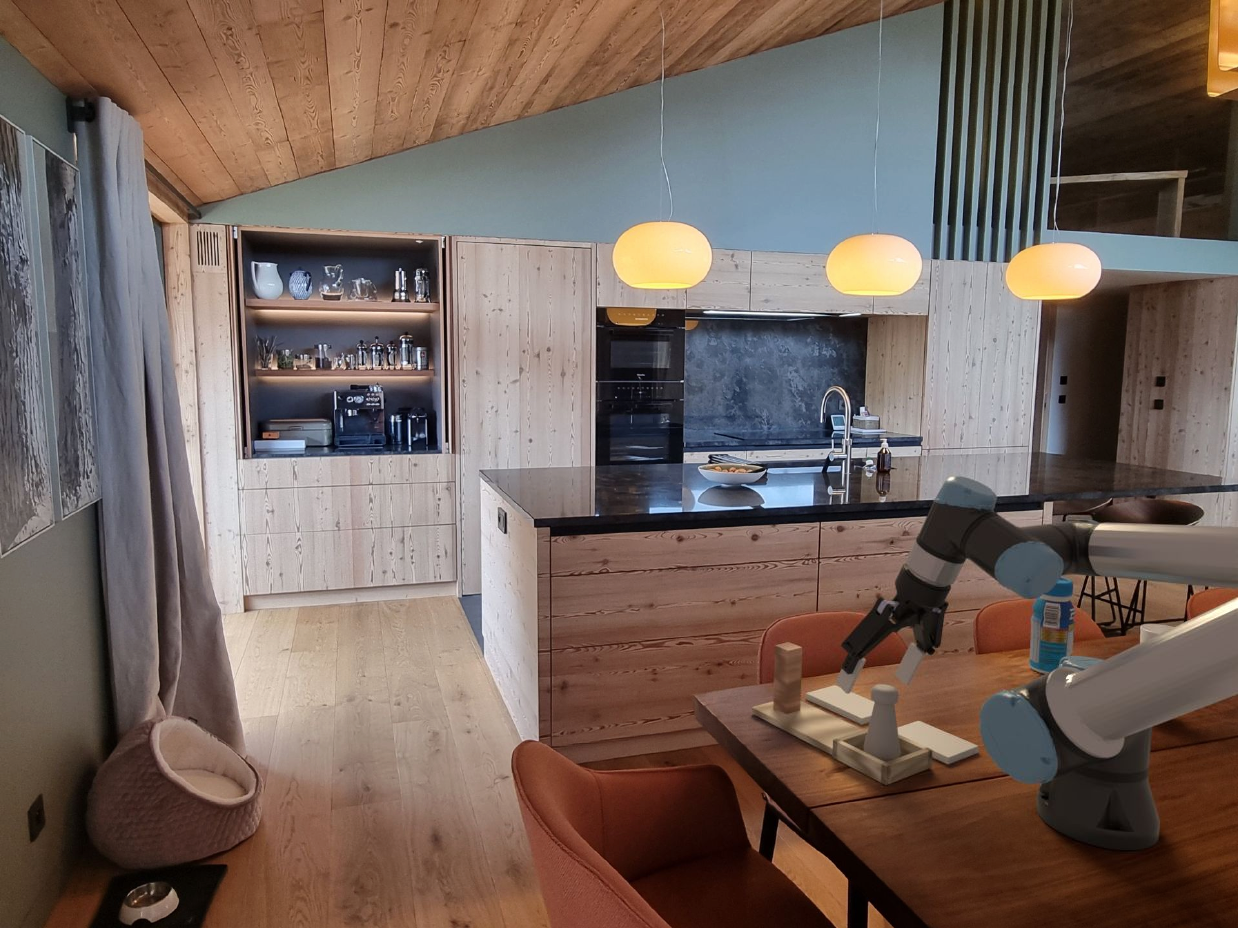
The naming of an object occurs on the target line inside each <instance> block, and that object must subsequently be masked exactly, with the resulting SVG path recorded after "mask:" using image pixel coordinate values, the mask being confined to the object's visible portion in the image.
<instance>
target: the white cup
mask: <svg viewBox="0 0 1238 928" xmlns="http://www.w3.org/2000/svg"><path fill="white" fill-rule="evenodd" d="M1174 627H1175V626H1169V625H1166V624H1160V623H1159V624H1156V623H1144V624H1141V625H1140V628H1139V632H1140V634H1139V635H1140V637H1139V644H1140V643H1142V642H1144V641H1146V640H1148V639H1151V638H1153V637H1155V636H1157V635H1159V634H1161V633H1163V632H1165V631H1167V630H1170V629H1172V628H1174Z"/></svg>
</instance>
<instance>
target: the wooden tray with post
mask: <svg viewBox="0 0 1238 928" xmlns="http://www.w3.org/2000/svg"><path fill="white" fill-rule="evenodd" d="M773 663H774V669H773V670H774V671H773V697H772V698H773V701H770V702H765V703H762V704H758V705H754V706H752V707H751V714H752V715H754V716H756V717H758V718H760V719H762V720H763V721H765V722H767V723H769V724H771V725H773V726H775V727H777V728H779V729H781V730H783V731H785V732H787V733H788V734H790V735H792V736H795V737H797V738H798V739H800V740H802V741H804V742H806V743H807V744H810V745H811V746H813V747H815V748H817V749H819V750H821V751H823V752H826V753H827V754H829V755H831V756H832V758H833V759H834V760H836V761H839V762H841V763H842V764H844V765H847V766H848V767H850V768H852V769H854V770H856V771H858V772H859V773H862V774H864V775H865V776H867V777H869V778H871V779H874V780H875V781H877V782H879V783H881V784H883V785H885V786H887V785H888V786H889V785H891V784H892V783H896V782H899V781H901V780H903V779H906V778H908V777H910V776H913V775H916V774H918V773H922V772H924V771H926V770H929V769H931V768H932V767H933V757H932V751H933V750H932V749H930V748H928V747H925V746H923V745H921V744H919V743H917V742H914V741H912V740H910V739H908V738H906V737H903V736H901V735H899V734H898V736H899V744H900V752H901V754H900V757H899V758H897V759H894V760H891V761H889V762H884V761H882V760H880V759H878V758H876V757H874V756H872V755H870V754H868V753H866V752H864V742H865V738H866V735H867V731H868V728H866V729H865V728H864V729H863V728H860V727H858V726H856V725H855V724H854V725H853V724H852V723H850V722H847V721H845V720H842V719H841V718H838V717H837V716H834V715H832V714H830V713H828V712H826V711H823V710H821V709H819V708H817V707H815V706H813V705H811V704H809V703H806V702H804V701H802V700H801V699H802V698H801V697H802V671H803V670H802V667H803V666H802V665H803V664H802V663H803V647H802V646H799V645H797V644H794V643H793V642H792V643H791V642H789V641H787V642H784V643H779V644H775V645H774V662H773Z"/></svg>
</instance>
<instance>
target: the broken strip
mask: <svg viewBox="0 0 1238 928" xmlns="http://www.w3.org/2000/svg"><path fill="white" fill-rule="evenodd" d="M805 699H806V700H807V701H809V702H812V703H813V704H816V705H817V706H820V707H822V708H824V709H827V710H829V711H831V712H833V713H836V714H838V715H840V716H842V717H844V718H846V719H848V720H850V721H853V722H855V723H856V724H859V725H862V726H863V725H866V724H869V723H870V719H871V715H872V711H873V707H874V703H875V702H874V701H873V700H872V699H869V698H866V697H864V696H861V695H859V694H857V693H854V692H852V691H851V692H850V693H849V694H846V693H845V692H844V691H843V690H842V689H841V688H840V686H839V685H837V684H836V685H835V684H833V685H831V686H826V687H824V688H820V689H816V690H813V691H809V692H805ZM897 729H898V734H899V735H901V736H903V737H906V738H908V739H910V740H912V741H914V742H917V743H919V744H921V745H923V746H925V747H928V748H930V749H932V750H933V751H932V759H935V760H937V761H939V762H941V763H944V764H946V765H950V764H951V765H952V764H953V763H955V762H958V761H961V760H964V759H966V758H969V757H970V756H973V755H976V754H978V753H979V745H977V744H975V743H973V742H971V741H967V740H965V739H963V738H960V737H958V736H956V735H955V734H954V735H953V734H951V733H950V732H949V733H948V732H946V731H944V730H942V729H939V728H937V727H934V726H932V725H930V724H928V723H925V722H923V721H921V720H916V721H913V722H909V723H908V724H904V725H902V726H897Z"/></svg>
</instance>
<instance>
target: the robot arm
mask: <svg viewBox="0 0 1238 928" xmlns="http://www.w3.org/2000/svg"><path fill="white" fill-rule="evenodd" d="M997 500H998V497H997V494H996V492H994V491H993V490H992V488H990V487H988V486H987V485H985V484H983V483H981V482H979V481H978V480H974V479H971V478H968V477H966V476H957V475H955V476H950V477H948V478H947V479H946V480H945V481H944V482H943V484H942V486H941V487H940V489H939V491H938V493H937V495H936V497H934V498H933V500H932V503H931V506H930V508H929V511H928V513H927V516H926V518H925V520H924V521H923V524H922V526H921V529H920V531H919V533H918V535H917V536H916V539H915V541H914V542H913V544H912V546H911V549H910V551H909V553H908V555H907V557H906V559H905V563H904V564H903V565H902V566H901V568H900V569H899V573H898V575H897V576H896V579H895V580H894V586H895V589H896V594H895V595H894V597H893V598H892V599H891V600H887V599H886V598H885V597H883V596H880V597H879V598H877V600H876V601H875V603H874V605H873V607H872V608H871V610H870V611H869V612H868V613H867V614H866V615H865V616H864V617H863V619H862V620H861V621H860V622H858V623H859V624H858V625H856V627H855V628H854V629H853V630H852V631H851V632H850V633H849V635H848V636H846V638H845V639H844V641H842V642H841V645H840V647H841V648H842V649H843V650H844V651H845V652H846V653H847V655H846V657H845V659H844V662H843V664H842V666H841V669H840V672H839V673H838V675H837V677H836V680H835V683H836V685H837V686H838V687H840V688H841V689H842V690H843V691H844V692H845V693H846V694H849V693H850V692H852V690H853V688H854V685H855V684H856V682H857V680H858V678H859V676H860V673H862V670H863V667H864V665H865V663H866V661H867V659H866V658H865V657H866V656H867V655H868V654H869V653H871V651H873V650H875V648H877V646H879V645H880V644H881V643H882V642H883V641H884V640H886V639H887V638H888V637H890V636H891V634H892V633H898V632H900V630H901V629H903V628H904V629H905V628H908V627H909V628H912V632H913V637H914V642H915V643H914V642H910V643H909V646H908V647H907V649H906V651H905V652H904V653H905V654H904V655H903V657H902V659H901V661H900V663H899V665H898V667H897V669H896V671H895V672H894V676H896V678H898V679H899V681H900V682H902V683H903V684H904V685H905V686H910V684H911V682H912V680H913V679H914V676H915V674H916V673H917V671H918V669H919V667H920V665H921V664H922V662H923V660H924V658H925V656H926V653H927V654H928V655H929V656H932V655H934V654H935V653H936V649H938V648H940V647H941V645H942V638H943V631H944V624H945V623H944V621H945V614H946V612H947V610H948V607H949V602H948V601H946V599H947V597H948V595H949V593H950V591H951V589H952V585H954V584H955V582H956V581H957V578H958V577H959V574H960V572H961V570H962V568H963V567H964V565H965V563H966V560H969V561H971V562H972V564H974V565H976V566H977V567H978V568H979V569H980V570H982V571H984V572H985V573H987V575H989V576H990V577H991V578H993V579H994V580H995V581H997V582H998V583H999V584H1000V585H1001V586H1002V587H1004V588H1006V589H1007V590H1009V591H1012V592H1013V593H1014V594H1016V595H1018V596H1019V597H1021V598H1022V599H1026V600H1036V599H1037V598H1039V597H1041V596H1042V595H1043V594H1044V593H1047V592H1049V591H1050V590H1051V589H1052V588H1053V587H1054V586H1055V585H1056V583H1057V582H1058V580H1059V578H1060V577H1063V576H1070V575H1072V576H1075V575H1078V576H1088V577H1089V576H1090V577H1103V578H1104V577H1107V578H1116V579H1126V580H1128V579H1129V580H1137V581H1147V582H1157V583H1168V584H1169V583H1170V584H1179V585H1188V586H1189V585H1190V586H1200V587H1211V588H1218V589H1231V590H1238V526H1219V525H1218V526H1217V525H1215V526H1214V525H1191V524H1190V525H1187V524H1153V523H1128V522H1127V523H1126V522H1125V523H1123V522H1098V521H1096V520H1093V519H1083V518H1082V519H1068V520H1065V521H1061V522H1059V521H1058V522H1053V523H1047V524H1045V523H1044V524H1038V525H1037V524H1035V525H1029V526H1022V527H1021V526H1018V525H1015V524H1013V523H1012V522H1010V521H1009V520H1007V519H1006V518H1004V517H1002V516H1001V515H999V514H998V513H997V512H995V511H994V510H995V508H996V506H995V505H996V503H997ZM889 618H890V619H889ZM1173 627H1174V628H1172V629H1170V630H1167V631H1165V632H1163V633H1161V634H1159V635H1157V636H1155V637H1153V638H1151V639H1148V640H1146V641H1144V642H1142V643H1140V642H1139V643H1138V644H1136V645H1134V646H1132V647H1129V648H1128V649H1125V650H1123V651H1121V652H1120V653H1117V654H1114V655H1113V656H1111V657H1109V658H1107V659H1101V658H1096V657H1089V656H1080V655H1072V656H1066V657H1063V658H1062V659H1061V660H1060V663H1059V666H1058V669H1055V670H1053V671H1051V672H1049V673H1047V674H1044V675H1043V674H1042V675H1041V676H1039V677H1037V678H1034V679H1032V680H1031V681H1029V682H1027V683H1025V684H1022V685H1020V686H1018V687H1013V688H1011V689H1002V690H999V691H997V692H996V693H995V694H992V695H991V696H989V697H988V698H986V700H985V701H984V702H983V704H982V706H981V708H980V711H979V714H978V715H979V720H980V722H978V723H979V724H978V726H979V727H978V728H979V734H980V736H981V741H982V743H983V747H984V748H985V751H986V752H987V754H988V756H989V757H990V759H991V760H992V761H993V763H994V764H995V765H996V766H997V768H999V769H1000V771H1002V772H1003V773H1004V774H1006V775H1008V776H1010V778H1011V779H1013V780H1015V781H1017V782H1019V783H1023V784H1025V785H1027V784H1028V785H1036V784H1040V785H1039V787H1038V790H1037V793H1036V805H1035V806H1036V812H1037V814H1038V816H1039V817H1040V819H1042V820H1043V821H1044V822H1045V823H1046V824H1047V825H1048V826H1050V827H1051V828H1052V829H1054V830H1056V831H1057V832H1059V833H1061V834H1063V835H1065V836H1067V837H1069V838H1071V839H1073V840H1076V841H1079V842H1081V843H1084V844H1088V845H1091V846H1096V847H1098V848H1104V849H1110V850H1117V851H1137V850H1145V849H1147V848H1151V847H1153V846H1154V845H1156V843H1157V842H1159V841H1158V840H1159V838H1160V826H1161V823H1160V817H1159V813H1158V811H1157V807H1156V803H1155V799H1154V796H1153V793H1152V790H1151V786H1150V783H1149V768H1150V759H1151V758H1150V757H1151V745H1152V733H1153V727H1155V726H1157V725H1160V724H1163V723H1165V722H1169V720H1170V721H1171V720H1174V719H1176V718H1179V717H1182V716H1184V715H1187V714H1189V713H1192V712H1194V711H1196V710H1197V711H1198V710H1200V709H1203V708H1205V707H1208V706H1210V705H1212V704H1216V703H1219V702H1220V701H1223V700H1225V699H1229V698H1231V697H1234V696H1237V695H1238V596H1237V597H1234V598H1233V599H1231V600H1228V601H1227V602H1225V603H1223V604H1220V605H1218V606H1217V607H1214V608H1212V609H1210V610H1208V611H1205V612H1203V613H1201V614H1199V615H1197V616H1196V617H1193V618H1191V619H1189V620H1187V621H1184V622H1182V623H1180V624H1179V625H1176V626H1173ZM934 648H935V649H934Z"/></svg>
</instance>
